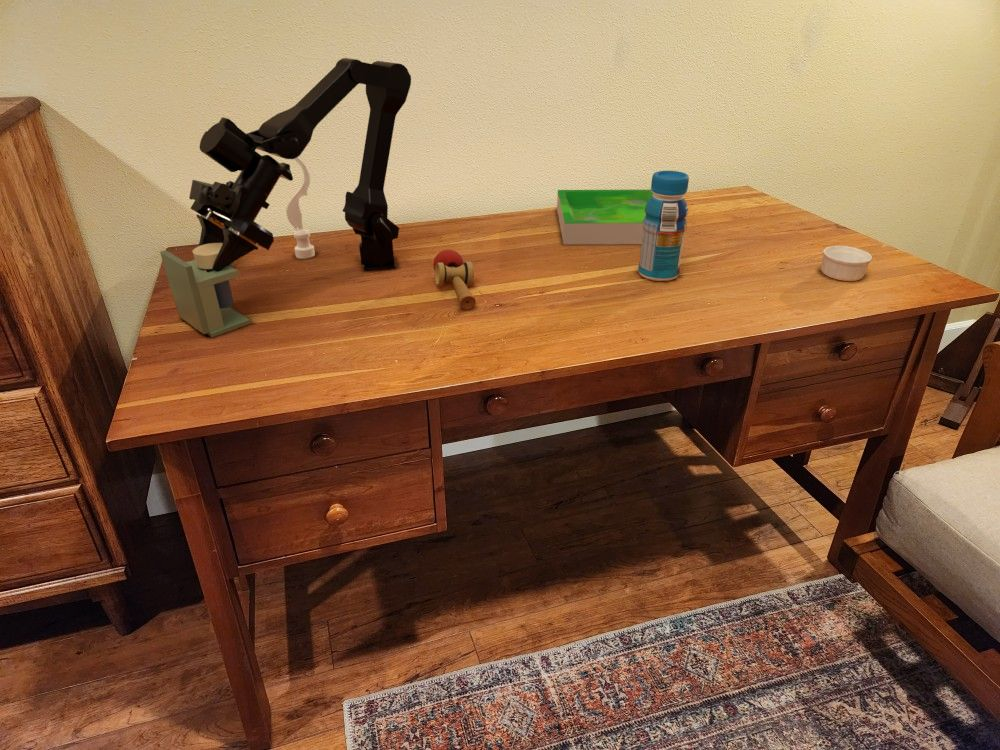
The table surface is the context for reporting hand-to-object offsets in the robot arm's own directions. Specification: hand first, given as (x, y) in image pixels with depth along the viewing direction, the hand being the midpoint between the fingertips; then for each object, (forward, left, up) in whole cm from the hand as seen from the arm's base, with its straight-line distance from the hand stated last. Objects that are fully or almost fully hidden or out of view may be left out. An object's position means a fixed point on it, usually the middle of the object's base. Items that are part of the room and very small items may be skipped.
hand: (206, 265), depth 114 cm
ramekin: (-120, +6, -10) cm, 121 cm away
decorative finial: (-14, -29, -10) cm, 34 cm away
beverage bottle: (-84, -2, -10) cm, 85 cm away
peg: (-1, -1, -8) cm, 8 cm away
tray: (-85, -32, -10) cm, 92 cm away
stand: (+1, +1, -10) cm, 10 cm away
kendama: (-43, -3, -10) cm, 45 cm away
